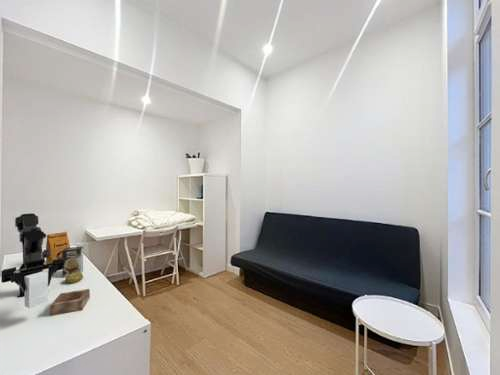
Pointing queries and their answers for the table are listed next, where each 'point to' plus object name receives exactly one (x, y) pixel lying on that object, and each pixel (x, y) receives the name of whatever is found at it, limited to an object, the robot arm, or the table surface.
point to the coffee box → (72, 261)
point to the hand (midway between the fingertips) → (37, 288)
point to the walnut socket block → (70, 302)
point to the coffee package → (56, 245)
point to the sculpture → (71, 279)
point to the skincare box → (36, 289)
